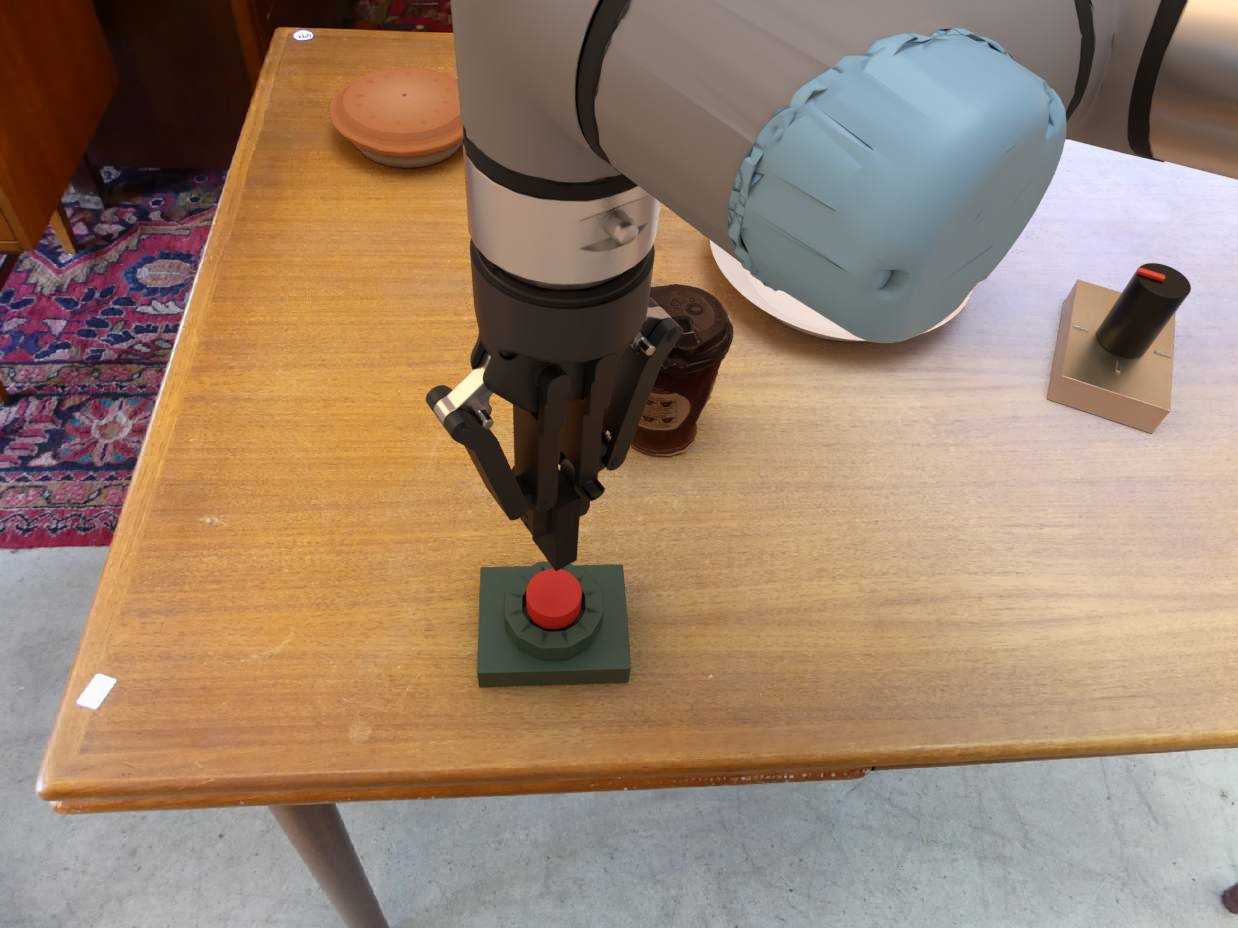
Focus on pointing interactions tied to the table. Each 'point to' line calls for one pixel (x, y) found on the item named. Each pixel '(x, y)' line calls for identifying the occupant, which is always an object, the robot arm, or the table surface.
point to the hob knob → (1143, 310)
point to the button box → (552, 630)
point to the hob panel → (1109, 365)
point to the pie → (400, 116)
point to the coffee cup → (684, 370)
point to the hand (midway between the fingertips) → (554, 549)
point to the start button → (553, 599)
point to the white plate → (787, 302)
